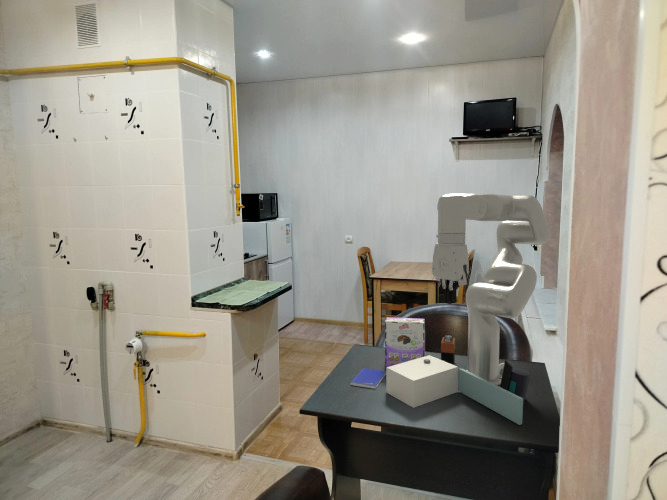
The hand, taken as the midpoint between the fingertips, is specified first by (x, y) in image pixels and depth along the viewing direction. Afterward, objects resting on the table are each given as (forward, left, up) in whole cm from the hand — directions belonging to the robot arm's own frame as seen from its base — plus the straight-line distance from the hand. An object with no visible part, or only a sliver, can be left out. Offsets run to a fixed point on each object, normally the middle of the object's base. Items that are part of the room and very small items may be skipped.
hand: (450, 302), depth 129 cm
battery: (-20, -19, -29) cm, 40 cm away
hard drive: (+10, -25, -30) cm, 40 cm away
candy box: (-8, -28, -29) cm, 41 cm away
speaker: (-17, +10, -29) cm, 35 cm away
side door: (-6, +10, -29) cm, 31 cm away
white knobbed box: (+3, -8, -29) cm, 30 cm away
